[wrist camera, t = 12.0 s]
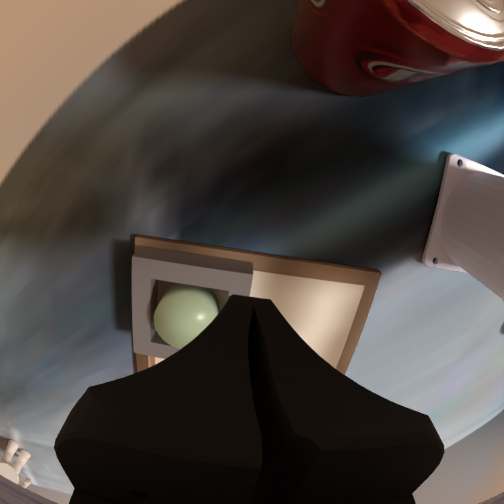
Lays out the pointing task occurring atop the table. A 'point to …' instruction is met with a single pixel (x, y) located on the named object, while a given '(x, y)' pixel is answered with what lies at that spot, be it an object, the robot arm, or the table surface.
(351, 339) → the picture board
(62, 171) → the table surface
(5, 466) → the hat wearing toy figure
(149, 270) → the button housing
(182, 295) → the button
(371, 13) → the soda can
